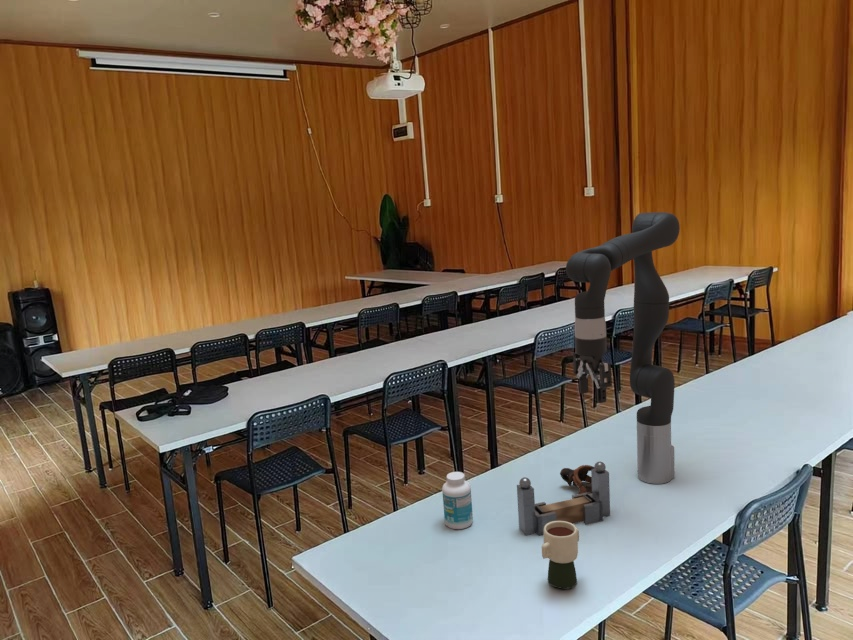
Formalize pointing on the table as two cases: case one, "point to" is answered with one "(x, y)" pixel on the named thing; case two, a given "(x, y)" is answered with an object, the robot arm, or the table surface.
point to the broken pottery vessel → (578, 477)
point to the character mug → (561, 553)
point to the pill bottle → (457, 501)
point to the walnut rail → (566, 509)
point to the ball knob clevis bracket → (591, 512)
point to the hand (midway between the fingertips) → (592, 397)
